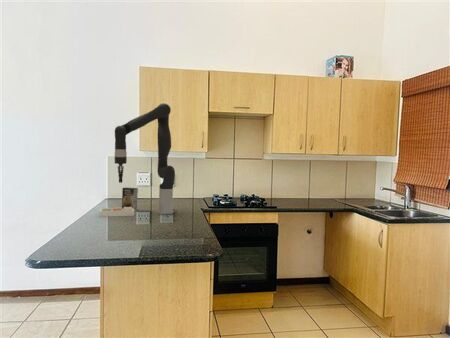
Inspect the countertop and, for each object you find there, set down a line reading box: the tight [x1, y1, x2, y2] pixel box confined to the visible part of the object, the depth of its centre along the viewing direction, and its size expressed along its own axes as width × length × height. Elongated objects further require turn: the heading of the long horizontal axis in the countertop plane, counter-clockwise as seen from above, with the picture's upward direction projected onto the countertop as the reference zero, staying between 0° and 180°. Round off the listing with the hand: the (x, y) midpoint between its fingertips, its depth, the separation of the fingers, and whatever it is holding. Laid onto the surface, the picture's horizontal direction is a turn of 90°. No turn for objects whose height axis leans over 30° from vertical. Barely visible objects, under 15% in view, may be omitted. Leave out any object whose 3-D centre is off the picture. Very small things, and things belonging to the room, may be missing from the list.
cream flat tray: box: [99, 208, 135, 218], centre depth 207 cm, size 21×8×4 cm, turn 109°
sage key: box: [101, 206, 112, 211], centre depth 205 cm, size 5×5×3 cm
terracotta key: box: [112, 206, 122, 211], centre depth 207 cm, size 5×5×3 cm
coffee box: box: [121, 187, 139, 212], centre depth 227 cm, size 9×6×16 cm
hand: (120, 182), depth 209 cm, fingers closed
